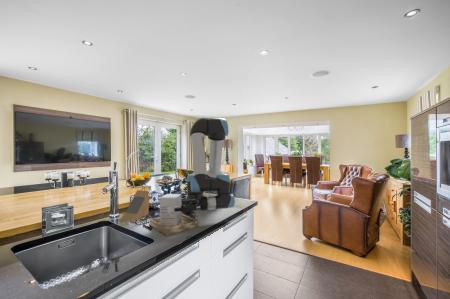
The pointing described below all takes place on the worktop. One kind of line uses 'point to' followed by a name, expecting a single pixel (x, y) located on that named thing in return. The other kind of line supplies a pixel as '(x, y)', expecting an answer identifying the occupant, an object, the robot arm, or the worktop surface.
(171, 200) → the supplement box
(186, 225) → the oak tray
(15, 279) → the worktop surface
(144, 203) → the sandwich container
